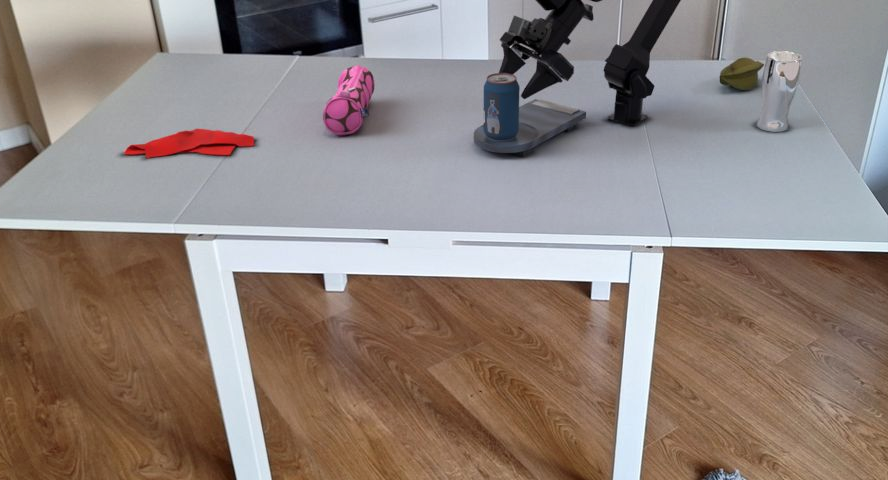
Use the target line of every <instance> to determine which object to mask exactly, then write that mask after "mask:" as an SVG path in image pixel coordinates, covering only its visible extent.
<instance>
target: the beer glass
mask: <svg viewBox="0 0 888 480" xmlns="http://www.w3.org/2000/svg"><path fill="white" fill-rule="evenodd" d="M802 60H803V55H801V54H799V53H797V52H793V51H788V50H787V51H786V50H784V51H783V50H774V51H771V52H769V53H767V55H766V60H765V64H764V67H763V74H762V80H761V110H760V114H759V117H758V120H757V122H756V126H757V128H758V129H760V130H762V131H765V132H769V133H781V132H785V131H787V130H788V129H789V112H790V108H791V105H792V103H793V99H794V98H795V95H796V91H797V89H798V86H799V81H800V77H801V70H802V62H803V61H802Z"/></svg>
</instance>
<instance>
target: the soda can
mask: <svg viewBox="0 0 888 480" xmlns="http://www.w3.org/2000/svg"><path fill="white" fill-rule="evenodd" d="M519 107H520V84H519V82H518V80H517V76H516V75H515V74H513V75H512V74H509V73H499V72H497V73H496V72H495V73H491V74H489V75H487V76H486V81H485V82H484V84H483V125H484V133H485V134H486V136H487V138H488V139H490V140H493V141H499V142H503V141H509V140H512V139H514V138H515V136H516V134H517V133H518V131H519Z"/></svg>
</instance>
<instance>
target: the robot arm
mask: <svg viewBox="0 0 888 480" xmlns="http://www.w3.org/2000/svg"><path fill="white" fill-rule="evenodd" d="M534 1H535V2H536V3H537V4H538V5H539V7H541V8H542V9H543V10H544V11H548V14H547V16H545V18H543V17H539V18H536V17H535V18H533V20H532V21H531V20H528V19H525V18H522V17H520V16H517V15H513V17H512V20H511V22H510V25H509V27H508V29H507V31H505V32H504V33H503V34H502V35H501V37H500V38H499V41H500V42H501V43H500V47H501V48H502V51H503V57H502V62H501V65H500V67H499V70H498V73H509V74H512V75H515V74H516V73H517V72H518V71H519V70H521V68H523V67H524V66H525V65H526V64H527V62H526V61H527V60H529V59H530V58H532V59H534V60H536V66H535V68H536V69H535V72H534V73H533V75H532V77H531V78H530V79H529V81H528V83H527V84H526V86H525V87H524V89H523V90H522V92H521V94H520V97H521V99H523V100H526V99H528V98H530V97H532V96H533V95H535V94H537V93H540V92H541V91H543V90H545V89H547V88H549V87H552V86H553V85H555V84H558V83H563V80H564V81H566V82H569V81H570V80H571V78H572V77H573V75H574V74H575V66H574V65H573V64H572V63H571V62H570V61H569V60H568V59H567V58H566V57H565V55H563V54H562V53H560V52H559V50H560V49H561V48H562V47H563V45H567V46H569V45H570V43H571V42H572V40H571V39H570V38H569V37H570V36H571V35H572V33H573V32H574V30H575V29H576V28H577V26H578V25H579V24H580V22H581V21H582V19H585V20H588V21H590V22H593V21H594V12H593V9H594V7H593V5H591V4H588V3H584V2H583V1H582V0H534ZM589 1H591V2H594V3H599V2H602V1H603V0H589ZM681 1H682V0H652V1H651V2H650V4H649V6H648V8H647V10H646V11H645V13H644V14H643V16H642V18H641V20H640V21H639V23H638V25H637V27H636V28H635V29H634V32H633V33H632V35H631V37H630V38H629V40H628V41H627V42H626V43H624V44H623V45H620V44H617V43H616V44H615V45H614V46H613V47H612V49H611V52H610V53H609V55H608V56H607V58H605V60H604V62H605V64H604V67H603V73H604V78H605V80H606V81H607V84H608V88H609V89H613V90H614V91H615V100H614V110H613V114H611V115H610V116H608V117H607V121H609V122H614V123H617V124H621V125H626V126H629V127H635V126H637V125H639V124H640V123H642V122H644V121H645V120H647V119H648V118H649V115H648V114H645V113H643V104H644V99H647V97H650V96H652V95H653V91H654V89H655V84H654V83H653V82H652V81H651V79H649V77H647V74H648V72H649V69H650V63H651V62H650V61H651V52H652V50H653V49H654V47H655V45H656V43H657V42H658V40H659V38H660V37H661V35H662V34H663V32H664V30H665V29H666V26H667V25H668V23H669V21H670V20H671V18H672V16H673V15H674V13H675V11H676V9H678V6H679V5H680V3H681Z"/></svg>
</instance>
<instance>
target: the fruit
mask: <svg viewBox="0 0 888 480" xmlns="http://www.w3.org/2000/svg"><path fill="white" fill-rule="evenodd" d="M764 67H765V64H764V63H763V62H762V61H759V60H756V61H755V60H753V59H752V58H750V57H740V58H738V59H736V60H734V61H733V62H732V63H730V64H729V65H727V66H725V67H724V68H722V70H720V72H719V73H720V75H719V84H720V85H723V86H731V87H732V88H734V89H737V90H741V91H750V90H752V89H753V88H755V87H756V86H757V83H758V80H759V74H758V73H759V72H760V70H762V69H763V68H764Z"/></svg>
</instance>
